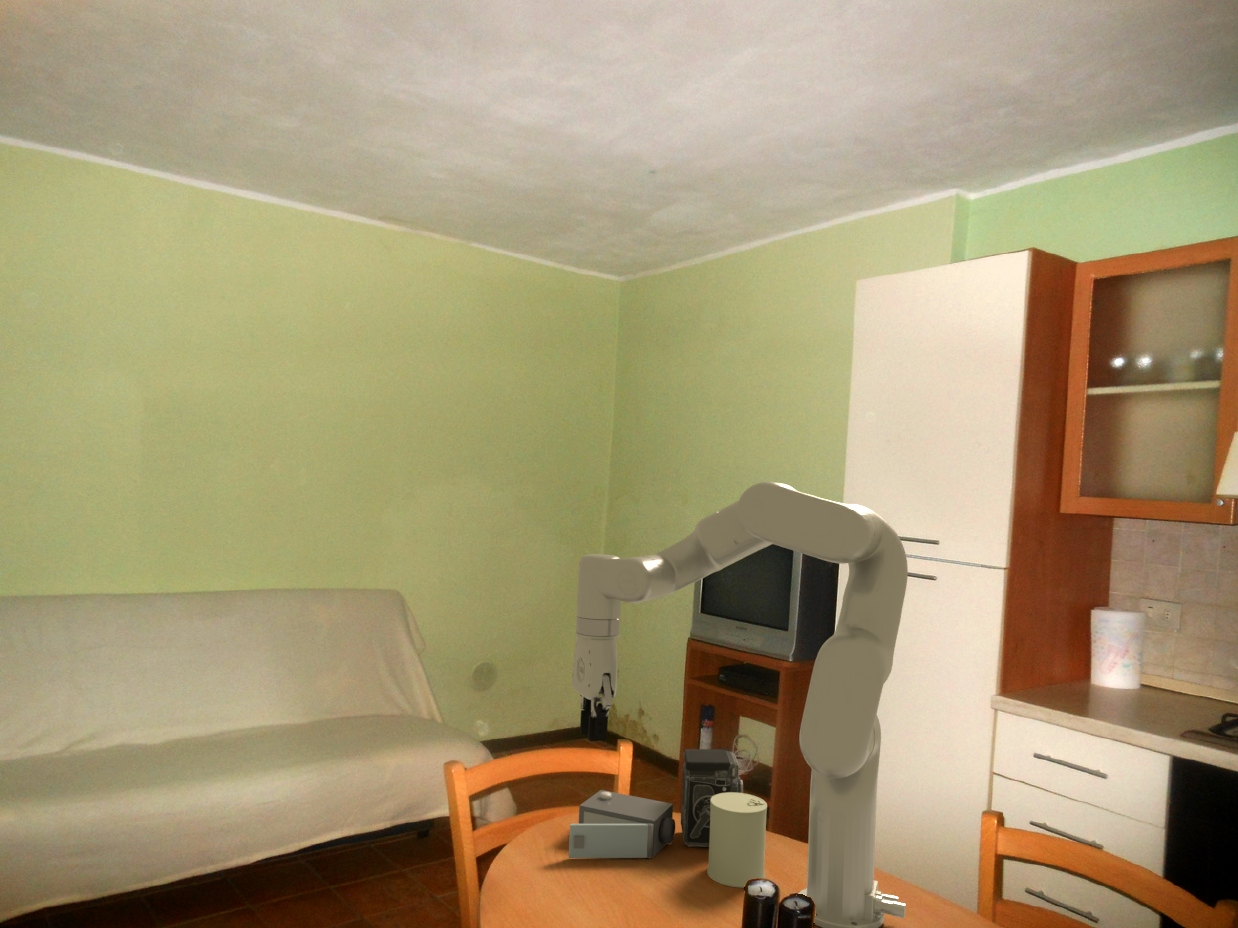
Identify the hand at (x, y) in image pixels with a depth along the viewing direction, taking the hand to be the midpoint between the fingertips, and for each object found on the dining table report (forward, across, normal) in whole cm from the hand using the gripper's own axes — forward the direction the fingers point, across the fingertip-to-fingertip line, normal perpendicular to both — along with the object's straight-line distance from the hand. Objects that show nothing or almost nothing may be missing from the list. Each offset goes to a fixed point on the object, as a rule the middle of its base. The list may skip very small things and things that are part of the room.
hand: (593, 735), depth 143 cm
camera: (+19, +2, +22) cm, 30 cm away
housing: (+19, -3, +8) cm, 21 cm away
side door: (+19, +4, +3) cm, 19 cm away
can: (+19, +15, +20) cm, 31 cm away
